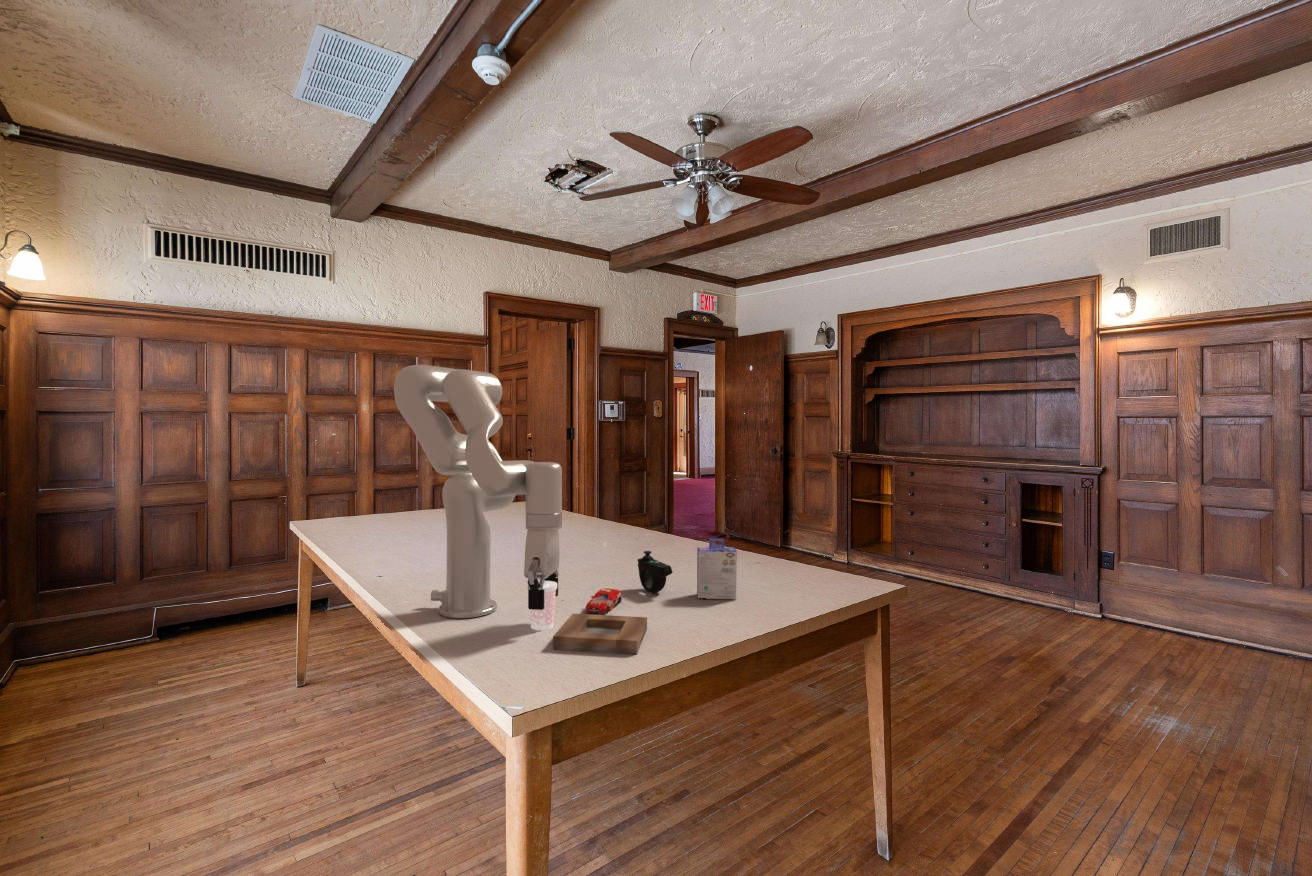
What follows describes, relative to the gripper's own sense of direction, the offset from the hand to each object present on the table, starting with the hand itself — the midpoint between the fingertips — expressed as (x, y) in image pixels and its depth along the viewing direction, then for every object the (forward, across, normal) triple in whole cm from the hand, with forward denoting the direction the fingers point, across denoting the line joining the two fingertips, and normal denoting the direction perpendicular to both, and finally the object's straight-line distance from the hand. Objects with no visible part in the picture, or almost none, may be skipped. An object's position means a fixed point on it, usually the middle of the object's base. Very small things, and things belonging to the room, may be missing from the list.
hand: (543, 602), depth 123 cm
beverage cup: (+5, 0, 0) cm, 5 cm away
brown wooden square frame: (+5, +5, +14) cm, 15 cm away
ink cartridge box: (+6, -29, +36) cm, 46 cm away
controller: (+6, -30, +20) cm, 36 cm away
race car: (+6, -16, +10) cm, 20 cm away
